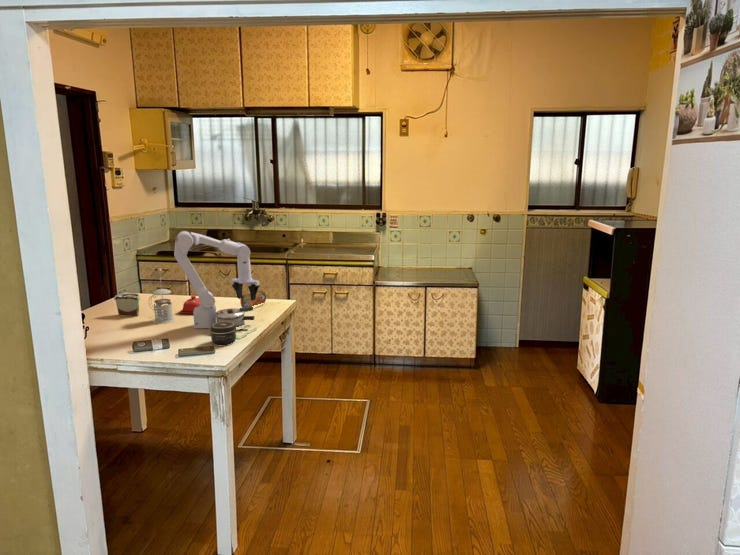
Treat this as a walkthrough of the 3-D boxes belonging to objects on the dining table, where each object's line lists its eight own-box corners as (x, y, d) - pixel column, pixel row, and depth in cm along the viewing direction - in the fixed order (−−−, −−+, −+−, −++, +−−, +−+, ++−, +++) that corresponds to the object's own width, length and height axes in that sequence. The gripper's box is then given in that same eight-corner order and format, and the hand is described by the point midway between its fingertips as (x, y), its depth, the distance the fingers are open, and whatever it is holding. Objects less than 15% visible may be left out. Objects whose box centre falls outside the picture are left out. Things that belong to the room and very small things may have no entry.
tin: (243, 311, 255) (242, 295, 253) (239, 310, 257) (238, 294, 255) (266, 304, 266) (266, 289, 265) (262, 303, 268) (262, 288, 266)
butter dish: (199, 315, 248) (198, 299, 246) (177, 314, 250) (176, 298, 248) (210, 309, 259) (209, 293, 257) (189, 308, 261) (188, 292, 259)
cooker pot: (213, 332, 223) (212, 319, 222) (221, 323, 235) (220, 311, 234) (251, 332, 224) (250, 319, 222) (257, 323, 235) (256, 311, 234)
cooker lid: (222, 320, 219) (222, 315, 219) (211, 313, 229) (210, 309, 228) (258, 313, 229) (257, 308, 229) (245, 307, 239) (245, 302, 239)
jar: (214, 338, 216) (213, 321, 214) (238, 337, 217) (237, 320, 215) (208, 346, 206) (207, 328, 204) (234, 346, 207) (232, 328, 205)
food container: (146, 312, 252) (144, 293, 250) (140, 316, 246) (138, 296, 244) (123, 312, 253) (121, 292, 251) (116, 315, 247) (113, 295, 245)
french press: (167, 324, 234) (162, 271, 228) (145, 322, 236) (139, 270, 231) (179, 318, 243) (175, 266, 238) (157, 316, 246) (152, 265, 240)
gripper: (262, 270, 234) (264, 298, 237) (237, 267, 240) (240, 295, 243) (253, 273, 228) (255, 302, 231) (227, 270, 234) (230, 299, 237)
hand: (246, 299), depth 237 cm, fingers open, 7 cm apart
